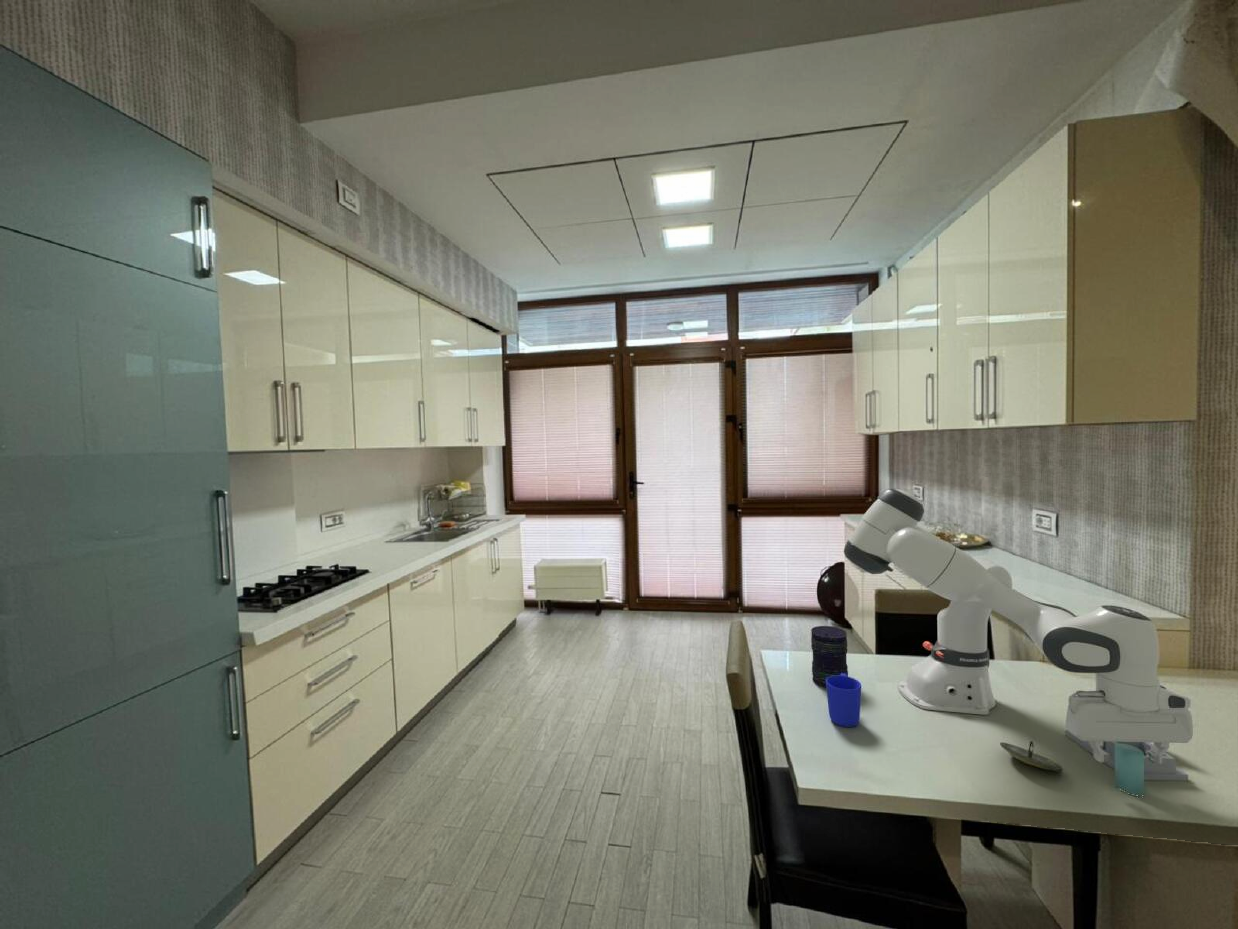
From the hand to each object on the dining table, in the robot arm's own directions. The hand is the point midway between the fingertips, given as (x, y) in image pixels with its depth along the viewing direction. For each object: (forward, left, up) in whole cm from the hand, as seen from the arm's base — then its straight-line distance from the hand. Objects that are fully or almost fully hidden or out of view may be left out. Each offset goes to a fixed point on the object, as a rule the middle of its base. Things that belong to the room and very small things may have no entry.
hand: (1127, 761), depth 99 cm
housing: (+9, +11, -6) cm, 15 cm away
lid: (-13, +7, -6) cm, 16 cm away
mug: (-44, +26, -6) cm, 52 cm away
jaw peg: (+1, 0, -6) cm, 6 cm away
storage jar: (-41, +46, -6) cm, 62 cm away
